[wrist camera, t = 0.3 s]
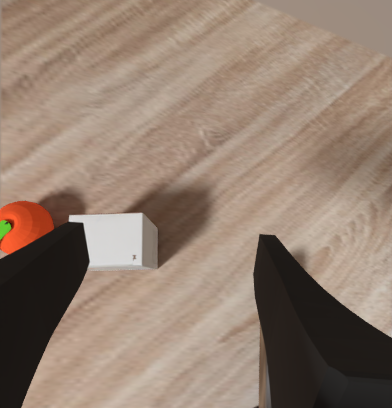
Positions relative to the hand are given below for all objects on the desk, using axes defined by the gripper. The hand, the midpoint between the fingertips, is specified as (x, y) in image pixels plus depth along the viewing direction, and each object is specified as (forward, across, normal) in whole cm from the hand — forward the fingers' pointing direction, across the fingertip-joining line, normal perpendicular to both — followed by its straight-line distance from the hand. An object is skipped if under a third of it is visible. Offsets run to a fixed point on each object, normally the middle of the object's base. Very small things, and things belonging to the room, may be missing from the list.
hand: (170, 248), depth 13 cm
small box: (+23, +9, +18) cm, 30 cm away
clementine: (+23, +22, +17) cm, 36 cm away
